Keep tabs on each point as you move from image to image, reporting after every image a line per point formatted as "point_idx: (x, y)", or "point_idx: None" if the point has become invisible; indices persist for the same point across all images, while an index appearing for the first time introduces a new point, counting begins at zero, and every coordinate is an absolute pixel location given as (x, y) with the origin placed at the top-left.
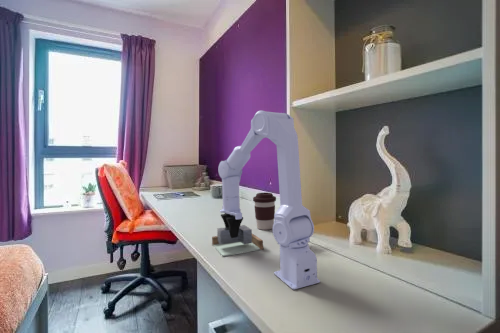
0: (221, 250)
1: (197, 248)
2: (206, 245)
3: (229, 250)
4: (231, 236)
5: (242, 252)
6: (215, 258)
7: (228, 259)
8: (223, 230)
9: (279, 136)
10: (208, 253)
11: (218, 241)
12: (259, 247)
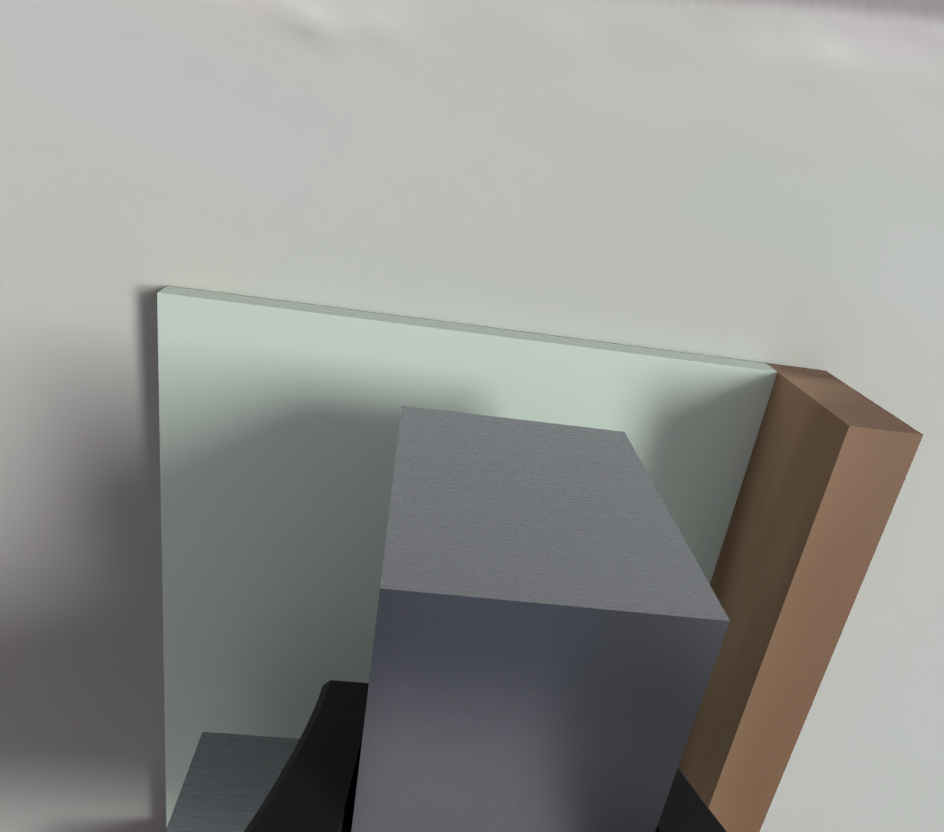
0: (400, 374)
1: (889, 45)
2: (895, 273)
3: (320, 484)
4: (322, 702)
5: (168, 609)
6: (165, 143)
7: (14, 322)
8: (391, 681)
9: None
10: (482, 132)
11: (559, 432)
12: None
